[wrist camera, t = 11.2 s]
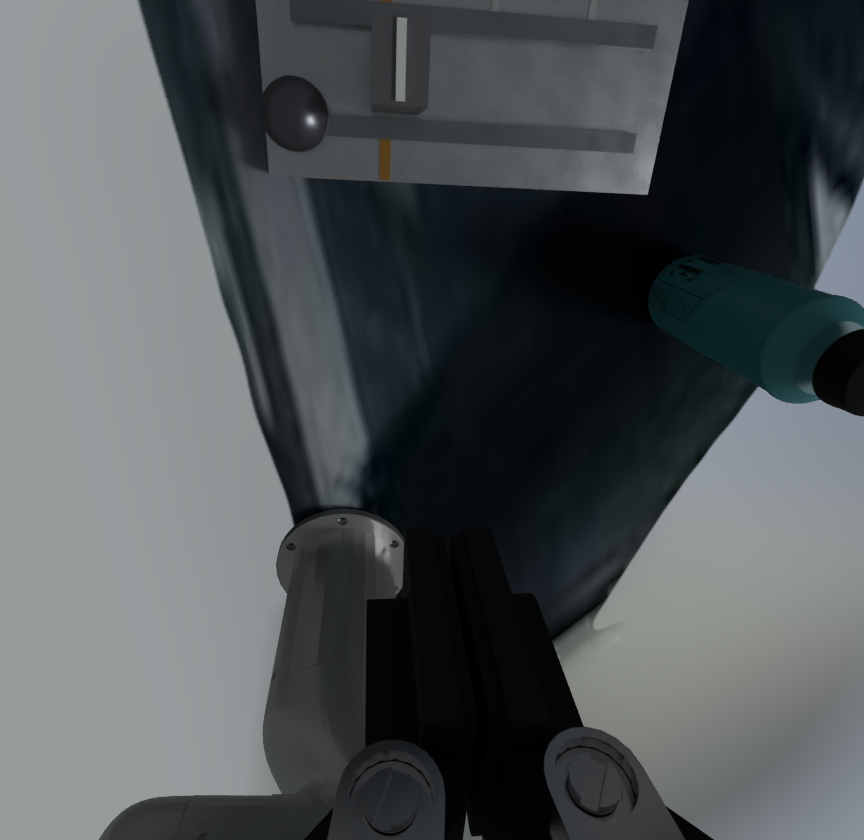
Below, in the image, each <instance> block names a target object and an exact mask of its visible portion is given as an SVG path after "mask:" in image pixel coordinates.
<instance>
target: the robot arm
mask: <svg viewBox="0 0 864 840" xmlns="http://www.w3.org/2000/svg"><path fill="white" fill-rule="evenodd" d="M276 567H277V575H278V578H279V581H280V583H281V585H282V587H283V588H284V590H285V591H286V593H287V599H286V604H285V609H284V615H283V620H282V625H281V631H280V636H279V641H278V647H277V652H276V657H275V663H274V667H273V673H272V678H271V683H270V688H269V694H268V699H267V705H266V711H265V716H264V722H263V744H264V750H265V755H266V759H267V762H268V765H269V767H270V770H271V773H272V775H273V777H274V779H275V781H276V783H277V785H278V787H279V789H280V791H281V793H282V794H273V795H272V796H229V795H227V796H226V795H223V796H221V795H208V796H207V795H203V796H202V795H196V796H169V797H157V798H151V799H147V800H144V801H141V802H139V803H136V804H134V805H132V806H130V807H129V808H127V809H125V810H124V811H123V812H121V813H120V814H119V815H118V816H117V817H116V818H115V819H114V820H113V821H112V822H111V823H110V824H109V826H108V827H107V828H106V830H105V831H104V833H103V834H102V835H101V837H100V839H99V840H463V833H464V826H465V819H466V811H467V816H468V823H469V829H470V833H471V836H482V839H483V840H713V839H712V838H711V837H709V836H708V835H706V834H705V833H703V832H702V831H701V830H699V829H698V828H696V827H695V826H693V825H692V824H691V823H689V822H688V821H686V820H685V819H683V818H682V817H681V816H679V815H678V814H676V813H675V812H673V811H672V810H671V809H669V808H668V807H666V806H665V804H664V802H663V801H662V799H661V797H660V796H659V794H658V792H657V790H656V789H655V787H654V785H653V784H652V782H651V780H650V779H649V777H648V775H647V773H646V772H645V770H644V768H643V767H642V765H641V764H640V762H639V761H638V760H637V758H636V757H635V756H634V754H633V753H632V752H631V750H630V749H629V748H627V747H626V746H625V745H624V744H622V743H621V742H620V741H619V740H618V739H617V738H615V737H613V736H611V735H609V734H607V733H605V732H603V731H602V730H597V729H593V728H588V727H584V726H583V724H582V721H581V718H580V716H579V713H578V710H577V707H576V705H575V702H574V699H573V697H572V694H571V691H570V688H569V686H568V683H567V680H566V678H565V675H564V672H563V670H562V667H561V664H560V661H559V659H558V656H557V653H556V651H555V648H554V645H553V643H552V640H551V637H550V634H549V632H548V629H547V626H546V624H545V621H544V618H543V616H542V613H541V610H540V607H539V605H538V602H537V600H536V598H535V596H534V595H533V594H532V593H523V594H511V591H510V587H509V584H508V581H507V578H506V575H505V572H504V569H503V565H502V562H501V559H500V556H499V553H498V550H497V547H496V543H495V540H494V537H493V534H492V531H491V529H490V527H489V526H481V527H462V528H461V530H460V534H457V535H451V538H450V548H449V560H448V555H447V549H446V544H445V539H444V535H434V532H433V528H405V531H404V538H403V536H402V535H401V534H400V532H399V531H398V530H397V529H396V528H395V527H394V526H393V525H392V524H390V523H389V522H388V521H386V520H385V519H383V518H381V517H379V516H377V515H375V514H372V513H369V512H366V511H361V510H356V509H334V510H326V511H323V512H320V513H316V514H314V515H312V516H309V517H307V518H305V519H303V520H302V521H301V522H299V523H298V524H297V525H295V526H294V527H293V528H292V529H291V530H290V531H289V532H288V534H287V535H286V536H285V538H284V540H283V541H282V543H281V545H280V549H279V553H278V557H277V564H276ZM401 588H402V598H395V595H396V594H397V593H399V591H400V590H401Z"/></svg>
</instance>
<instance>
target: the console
mask: <svg viewBox="0 0 864 840" xmlns="http://www.w3.org/2000/svg"><path fill="white" fill-rule="evenodd" d="M687 5H688V0H256V11H257V24H258V37H259V50H260V63H261V76H262V89H263V95H262V98H261V102H260V116H261V121H262V124H263V126H264V129H265V131H266V140H267V153H268V166H269V176H283V177H303V178H323V179H344V180H364V181H384V182H404V183H424V184H444V185H464V186H484V187H504V188H524V189H544V190H564V191H584V192H605V193H625V194H645V195H648V190H649V185H650V180H651V176H652V171H653V166H654V162H655V157H656V152H657V147H658V143H659V138H660V133H661V128H662V124H663V119H664V114H665V109H666V105H667V100H668V95H669V90H670V86H671V81H672V76H673V72H674V67H675V62H676V57H677V53H678V48H679V43H680V38H681V34H682V29H683V24H684V19H685V15H686V10H687ZM372 11H379V12H390V13H402V14H414V15H425V16H432V20H431V45H430V70H429V95H428V108H427V109H426V110H424V111H423V112H422V113H421V114H419V115H416V114H401V113H385V112H372Z"/></svg>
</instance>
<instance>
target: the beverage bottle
mask: <svg viewBox="0 0 864 840" xmlns="http://www.w3.org/2000/svg"><path fill="white" fill-rule="evenodd" d="M692 255H694V254H692ZM706 255H707V254H706ZM709 257H713V256H710V255H709ZM709 257H706V256H700V255H694V256H689V255H688V257H686V256H685V257H684V258H680V259H678V260H676V261H674V262H672V263H671V264H669V265H668V266H667V267H665V268H664V269H663V270H662V271H661V272H660V273H659V275H658V276H657V277H656V279H655V280H654V282H653V284H652V287H651V289H650V293H649V297H648V308H649V312H650V315H651V317H652V319H653V321H654V322H655V324H656V325H657V326H658V328H660V329H661V330H663V331H665V332H666V333H668V334H670V335H671V336H673V338H674V337H675V338H677V339H678V341H677V342H679V340H680V342H681V341H682V342H683V343H685V345H684V346H686V344H687V345H688V346H690V348H691V347H692V348H694V349H695V351H696V350H697V351H699V352H700V354H701V353H702V355H703V354H704V355H706V356H707V358H708V357H709V358H711V359H713V360H715V361H717V362H719V363H720V364H722V365H723V366H726V367H727V368H729V369H731V370H732V371H734V372H736V373H737V374H739V375H741V376H742V377H744V378H746V379H747V380H749V381H751V382H752V383H754V384H756V385H757V386H759V387H761V388H762V389H764V390H766V391H767V392H768V393H769V394H770V395H772V396H773V397H775V398H776V399H779V400H781V401H784V402H787V403H796V404H797V403H808V402H812V401H816V400H822V401H823V402H825V403H827V404H829V405H831V406H833V407H837V408H840V409H842V410H845V411H847V412H849V413H852V414H854V415H858V416H864V308H863V307H862V306H861V305H860V304H858V303H857V302H856V301H854V300H852V299H849V298H846V297H843V296H838V295H831V294H827V293H825V292H821V291H818V290H814V289H815V288H814V289H811V288H808V287H804V286H802V285H799V284H796V283H793V282H790V281H787V279H786V278H785V277H784V278H785V279H786V280H783V279H780V278H776V277H775V276H770V275H766V274H763V273H760V272H756V271H753V270H751V269H750V268H748V269H746V268H743V267H739V266H736V265H733V264H731V263H729V262H727V263H726V261H728V260H726V261H725V262H724V261H723V262H722V261H719V259H721V258H718V260H716V259H712V258H709ZM714 258H716V257H714ZM722 260H724V259H722ZM730 262H731V261H730ZM734 263H735V262H734ZM781 278H783V276H782V277H781ZM792 280H793V279H792ZM657 326H656V327H657ZM658 328H657V329H658ZM666 333H665V334H666ZM669 337H670V336H669ZM670 338H671V337H670ZM680 342H679V343H680ZM682 345H683V344H682ZM687 348H688V347H687ZM697 354H699V353H697ZM706 356H705V357H706ZM713 360H712V361H713ZM717 364H718V363H717ZM720 364H719V365H720Z"/></svg>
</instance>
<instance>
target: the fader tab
mask: <svg viewBox="0 0 864 840" xmlns="http://www.w3.org/2000/svg"><path fill="white" fill-rule="evenodd" d="M431 20H432V16H425V15H414V14H402V13H390V12H379V11H372V112H385V113H401V114H416V115H419V114H421V113H422V112H423V111H424V110H426V109H427V108H428V95H429V70H430V45H431Z"/></svg>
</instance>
